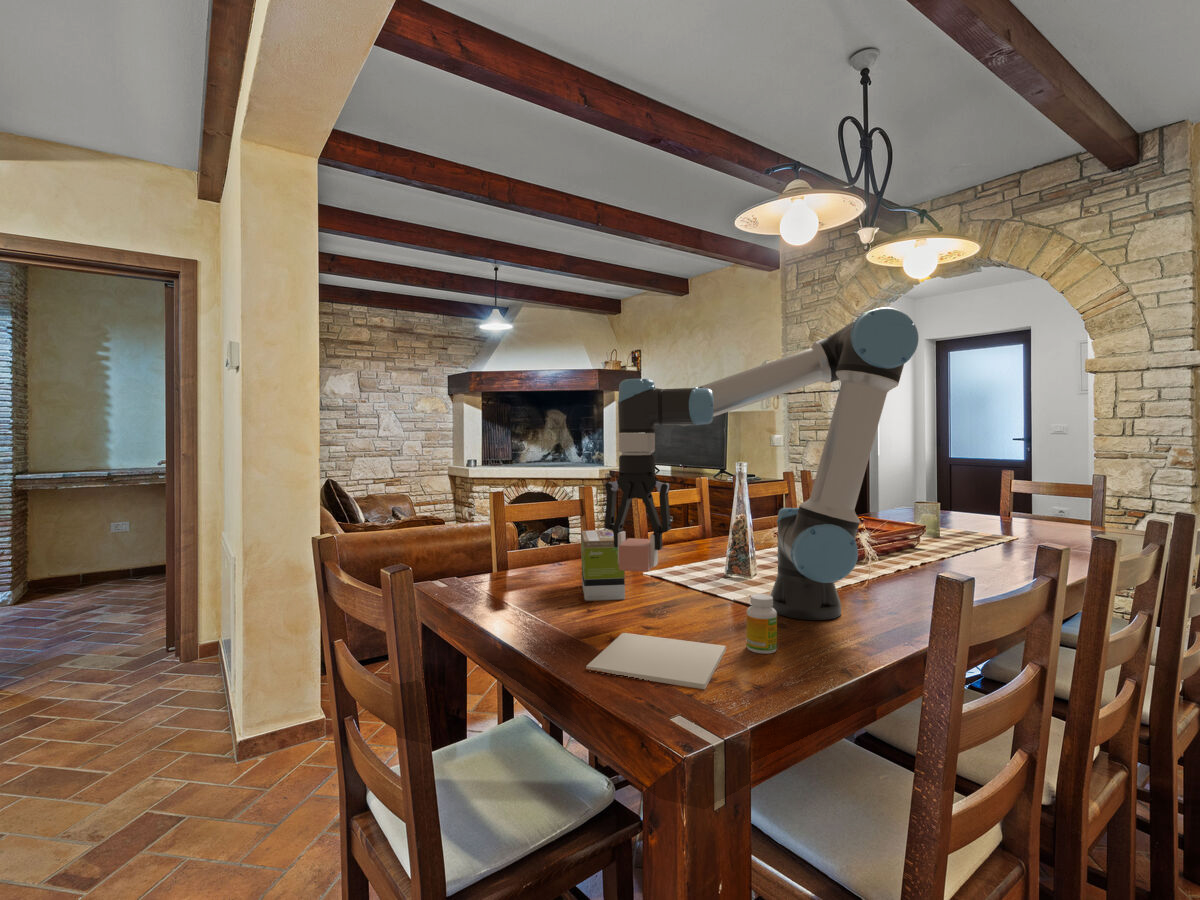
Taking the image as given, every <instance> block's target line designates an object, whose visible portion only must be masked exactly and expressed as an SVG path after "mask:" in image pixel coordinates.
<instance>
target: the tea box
mask: <svg viewBox="0 0 1200 900" xmlns="http://www.w3.org/2000/svg"><path fill="white" fill-rule="evenodd" d="M580 547H581V548H580V549H581V550H580V554H581V559H580V560H581V587H582V592H583V597H584V598H583V599H584V601H585V602H592V601H611V600H612V601H615V600H625V599H626V598H625V597H626V581H625V573H626V572H625V571H626V570H619V564H618V547H614V533H613V531H612V530H610V529H595V530H594V529H593V530H580Z"/></svg>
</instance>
